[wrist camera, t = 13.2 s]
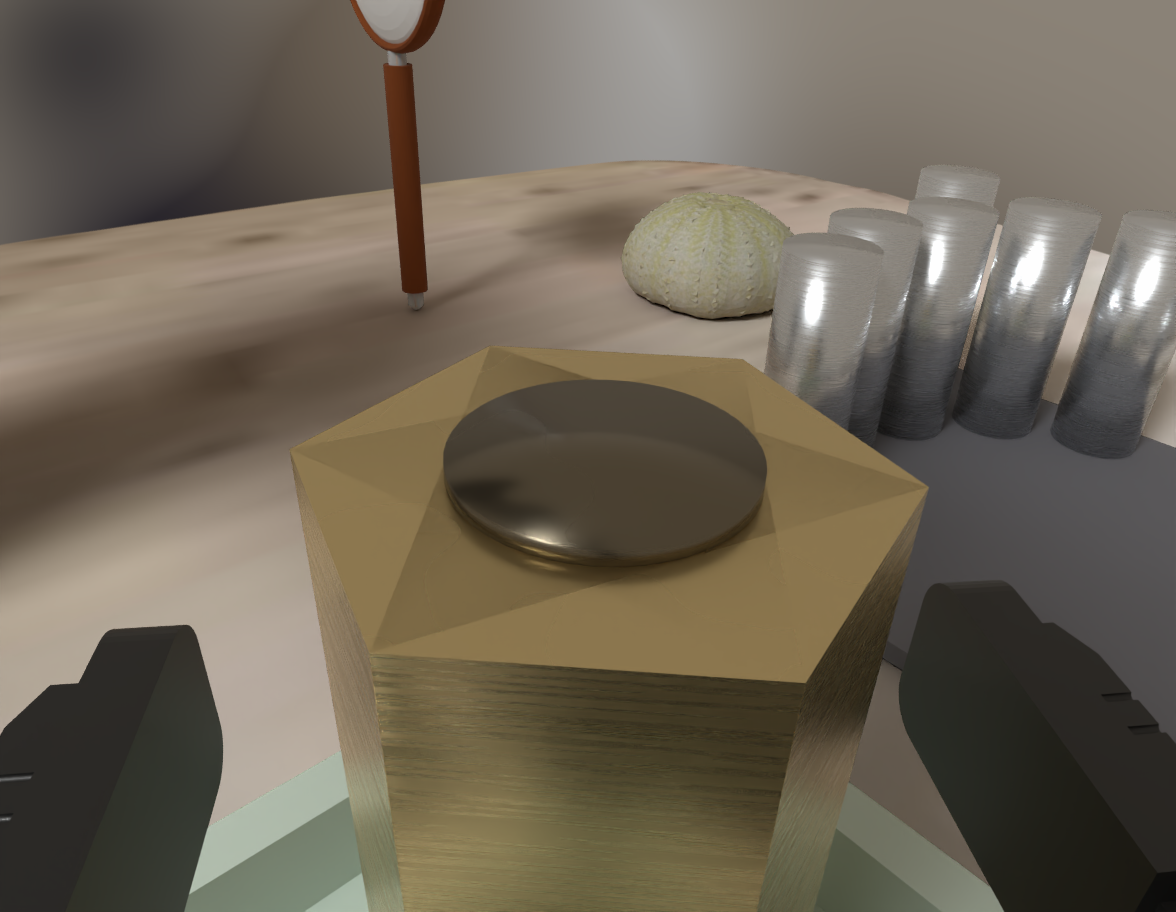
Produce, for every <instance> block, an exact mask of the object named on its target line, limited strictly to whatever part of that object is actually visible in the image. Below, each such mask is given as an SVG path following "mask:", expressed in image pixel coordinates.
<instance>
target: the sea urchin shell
mask: <svg viewBox="0 0 1176 912" xmlns="http://www.w3.org/2000/svg"><path fill="white" fill-rule="evenodd" d="M793 235H794V234H793V233H792V232H791V231H790V227H786V226H785V224H783V223H782V222H781V221H780V220H778V219H777V218H776V216H774V215H772V214H771V213H770V212H769V210H766V209H763V208H761V206H760V205H757V204H756V203H754V202H753V201H749V200H746V199H744V197H736V196H731V195H728V194H726V195H719V194H717V193H702V192H698V193H691V194H688V195H682V196H681V197H680V198H673V200H671V201H669V202H664V204H662V205H661V206H659V207H658V208H656V209H655V210H653V211H650V213H649V214H648V215H647V216H646V217H645V218H642V219H641V221H640V223H638V224H636V225H635V229H634V230H633V231H632V232H631V233H630V236H629V238H628V239H627V242H626V243H625V244H624V249H623V255H622V257H621V260H622V269H623V273H624V276H625V279H626V280H627V282H628V283H629V285H630V287H631V288H632V289H633V290H634V291H635V292H636V293H638V294H639V295H641V296H643V297H645V298H647V300H650V301H651V302H652V303H658V304H662V305H665V306H667V307H669V308H670V309H671V310H674V311H678V312H681V313H682V312H684V313H687V314H690V315H692V316H695V317H697V318H699V317H701V318H707V319H716V318H722V317H733V316H739V317H740V316H742V315H745V314H753V313H755V314H756V313H761V314H762V313H763V312H764V311H767V312H768V311H769V310H771V309H773V308H774V301H775V294H776V287H777V280H778V273H779V266H780V260H781V253H782V246H783V241H784V240H785V239H786V238H788V237H790V236H793Z"/></svg>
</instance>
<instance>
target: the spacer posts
mask: <svg viewBox="0 0 1176 912" xmlns="http://www.w3.org/2000/svg"><path fill="white" fill-rule="evenodd" d="M999 182H1000V177H999V176H998V175H997V174H995V173H992V172H989V171H986V170H982V169H977V168H972V167H966V166H956V165H933V166H926V167H924V168H922V169H921V174H920V178H919V182H918V187H917V191H916V196H915V199H913V200H911V201H910V202H909V206H908V211H907V215H906V214H902V213H898V212H894V211H889V210H882V209H873V208H849V209H842V210H838V211H835V212H833V213H832V214H831V215H830V220H829V226H828V232H827V233H803V234H797V235H793V236H790V237H788V238H786V239H785V240H784V241H783V246H782V253H781V260H780V266H779V273H778V280H777V287H776V294H775V301H774V308H773V315H772V321H771V328H770V335H769V342H768V349H767V356H766V363H765V370H764V374H765V375H766V376H768V377H769V378H771V379H772V380H773V381H775V382H776V383H778V384H779V385H781V386H782V387H784V388H785V389H787V390H788V391H789V392H791V393H792V394H794V395H795V396H797V397H798V398H800V399H801V400H803V401H804V402H806V403H807V404H808V405H810V406H811V407H813V408H814V409H816V410H817V411H819V412H820V413H822V414H823V415H825V416H826V417H827V418H829V419H830V420H832V421H833V422H835V423H836V424H838V425H839V426H841V427H842V428H843V429H845V430H846V431H848V432H849V433H851V434H852V435H854V436H855V437H857V438H858V439H860V440H861V441H862V442H864V443H865V444H867V445H868V446H870V447H871V448H873V446H874V442H875V437H876V433H877V432H879V433H881V434H883V435H885V436H888V437H892V438H895V439H900V440H908V441H923V440H928V439H932V438H934V437H936V436H937V435H939V433H940V432H941V429H942V425H943V421H944V418H945V414H946V410H947V406H948V403H949V399H950V395H951V392H952V388H953V384H954V381H955V377H956V373H957V370H958V366H959V362H960V358H961V355H962V351H963V347H964V344H965V340H966V336H967V333H968V329H969V325H970V321H971V318H972V314H973V310H974V307H975V303H976V299H977V296H978V292H979V288H980V284H981V281H982V277H983V273H984V270H985V266H986V262H987V259H988V255H989V251H990V247H991V244H992V240H993V236H994V233H995V229H996V225H997V222H998V218H999V211H998V210H996V209H995V208H993V205H994V201H995V197H996V194H997V190H998V186H999ZM1101 217H1102V214H1101V213H1100V212H1099V211H1098V210H1096V209H1094V208H1092V207H1089V206H1086V205H1083V204H1079V203H1075V202H1070V201H1066V200H1059V199H1052V198H1039V197H1027V198H1019V199H1014V200H1012V201H1010V203H1009V207H1008V210H1007V214H1006V217H1005V221H1004V225H1003V228H1002V232H1001V236H1000V239H999V243H998V247H997V250H996V254H995V257H994V261H993V265H992V268H991V272H990V276H989V279H988V283H987V287H986V290H985V294H984V298H983V301H982V305H981V308H980V312H979V316H978V319H977V323H976V327H975V330H974V334H973V338H972V341H971V345H970V349H969V352H968V356H967V359H966V363H965V367H964V370H963V374H962V378H961V381H960V385H959V389H958V392H957V396H956V400H955V403H954V407H953V410H952V417H953V419H954V421H955V422H956V423H957V424H959V425H960V426H961V427H963V428H964V429H966V430H968V431H970V432H973V433H975V434H978V435H981V436H985V437H989V438H995V439H1005V440H1010V439H1019V438H1023V437H1025V436H1027V435H1028V434H1029V433H1030V431H1031V428H1032V425H1033V422H1034V419H1035V416H1036V413H1037V410H1038V407H1039V404H1040V401H1041V398H1042V395H1043V392H1044V389H1045V386H1046V383H1047V380H1048V377H1049V374H1050V371H1051V368H1052V365H1053V362H1054V359H1055V356H1056V353H1057V350H1058V347H1059V344H1060V341H1061V338H1062V335H1063V332H1064V329H1065V326H1066V323H1067V320H1068V317H1069V314H1070V311H1071V308H1072V305H1073V302H1074V299H1075V296H1076V293H1077V289H1078V286H1079V283H1080V280H1081V277H1082V274H1083V271H1084V268H1085V265H1086V262H1087V259H1088V256H1089V253H1090V250H1091V247H1092V244H1093V241H1094V238H1095V235H1096V232H1097V229H1098V226H1099V223H1100V220H1101ZM1175 350H1176V213H1175V212H1168V211H1158V210H1135V211H1130V212H1127V213H1125V214H1124V216H1123V219H1122V222H1121V225H1120V228H1119V231H1118V234H1117V237H1116V240H1115V243H1114V246H1113V248H1112V251H1111V254H1110V257H1109V260H1108V263H1107V266H1106V269H1105V272H1104V275H1103V277H1102V280H1101V283H1100V286H1099V289H1098V292H1097V295H1096V298H1095V301H1094V304H1093V307H1092V309H1091V312H1090V315H1089V318H1088V321H1087V324H1086V327H1085V330H1084V333H1083V336H1082V339H1081V341H1080V344H1079V347H1078V350H1077V353H1076V356H1075V359H1074V362H1073V365H1072V368H1071V371H1070V373H1069V376H1068V379H1067V382H1066V385H1065V388H1064V391H1063V394H1062V397H1061V400H1060V403H1059V405H1058V408H1057V411H1056V414H1055V417H1054V420H1053V423H1052V426H1051V429H1050V433H1051V435H1052V437H1053V438H1054V439H1055V440H1056V441H1057V442H1059V443H1060V444H1061V445H1063V446H1065V447H1066V448H1068V449H1070V450H1073V451H1075V452H1078V453H1081V454H1084V455H1087V456H1091V457H1096V458H1102V459H1122V458H1126V457H1129V456H1131V455H1132V454H1133V453H1134V451H1135V449H1136V446H1137V444H1138V441H1139V439H1140V436H1141V434H1142V431H1143V429H1144V426H1145V424H1146V422H1147V419H1148V417H1149V414H1150V412H1151V409H1152V407H1153V404H1154V402H1155V399H1156V397H1157V395H1158V392H1159V390H1160V387H1161V385H1162V382H1163V380H1164V377H1165V375H1166V372H1167V370H1168V367H1169V365H1170V363H1171V360H1172V358H1173V355H1174V353H1175Z"/></svg>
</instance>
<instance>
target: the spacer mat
mask: <svg viewBox="0 0 1176 912" xmlns="http://www.w3.org/2000/svg"><path fill="white" fill-rule="evenodd" d="M962 374H963V370H962V369H959V368H958V370H957V373H956V377H955V381H954V384H953V388H952V392H951V395H950V399H949V403H948V406H947V410H946V414H945V418H944V421H943V425H942V429H941V432H940V433H939V435H937V436H936V437H934V438H932V439H928V440H923V441H908V440H900V439H895V438H892V437H888V436H885V435H883V434H881V433H879V432H877V433H876V437H875V442H874V446H873V449H874V450H876V451H877V452H879V453H880V454H881V455H883V456H884V457H886V458H887V459H889V460H890V461H892V462H893V463H895V464H896V465H897V466H899V467H900V468H902V469H903V470H905V471H906V472H908V473H909V474H911V475H912V476H914V477H915V478H916V479H918V480H919V481H921V482H922V483H924V484H925V485H927V486H928V487H929V489H928V493H927V496H926V500H925V504H924V507H923V511H922V515H921V518H920V522H919V526H918V529H917V533H916V537H915V540H914V544H913V548H912V551H911V555H910V559H909V562H908V566H907V570H906V573H905V577H904V581H903V584H902V588H901V592H900V595H899V599H898V603H897V606H896V610H895V614H894V617H893V621H892V625H891V628H890V632H889V636H888V639H887V643H886V647H885V650H884V654H883V659H885V660H887V661H888V662H890V663H891V664H893V665H895V666H896V667H898V668H899V669H901V670H903V668H904V664H905V661H906V657H907V654H908V650H909V647H910V644H911V640H912V637H913V633H914V630H915V626H916V623H917V619H918V616H919V613H920V609H921V606H922V602H923V599H924V596H925V594H926V592H927V590H928V589H929V588H930V587H931V586H932V585H934V584H936V583H949V582H966V581H983V580H1002V581H1005V582H1007V583H1008V584H1009V585H1011V586H1012V587H1013V588H1014V589H1015V590H1016V592H1017V593H1018V594H1019V595H1020V596H1021V598H1022V599H1023V600H1024V601H1025V603H1026V604H1027V605H1028V606H1029V607H1030V609H1031V610H1032V611H1033V612H1034V613H1035V615H1036V616H1037V617H1038V618H1039V620H1040V621H1041V622H1042V623H1051V622H1054V623H1055V624H1056V625H1058V626H1059V627H1061V628H1062V629H1064V630H1065V631H1067V632H1068V633H1069V634H1071V635H1072V636H1074V637H1075V638H1077V639H1078V640H1079V641H1081V642H1082V643H1084V644H1085V645H1087V646H1088V647H1090V648H1091V649H1092V650H1094V651H1095V652H1097V653H1098V654H1099V655H1100V656H1101V657H1102V658H1103V659H1104V661H1105V662H1106V663H1107V664H1108V665H1109V666H1110V668H1111V669H1112V670H1113V671H1114V672H1115V673H1116V675H1117V676H1118V677H1119V678H1120V679H1121V680H1122V681H1123V683H1124V684H1125V685H1126V686H1127V687H1128V688H1129V690H1130V691H1131V696H1132V699H1133V700H1139V701H1140V702H1141V704H1142V705H1143V706H1144V707H1145V708H1146V709H1147V710H1148V712H1149V713H1150V714H1151V715H1152V716H1153V717H1154V719H1155V720H1156V721H1157V722H1158V723H1159V730H1160V731H1161V733H1163V732H1166V733H1167V734H1168V735H1169V736H1170V737H1171V738H1172V739H1173V741H1174V742H1175V743H1176V448H1174V447H1172V446H1169V445H1166V444H1164V443H1161V442H1158V441H1155V440H1153V439H1150V438H1147V437H1144V436H1142V435H1141V436H1140V439H1139V441H1138V444H1137V446H1136V449H1135V451H1134V453H1133V454H1132V455H1131V456H1129V457H1126V458H1122V459H1102V458H1096V457H1091V456H1087V455H1084V454H1081V453H1078V452H1075V451H1073V450H1070V449H1068V448H1066V447H1065V446H1063V445H1061V444H1060V443H1059V442H1057V441H1056V440H1055V439H1054V438H1053V437H1052V435H1051V433H1050V429H1051V426H1052V423H1053V420H1054V417H1055V414H1056V411H1057V408H1058V405H1057V404H1054V403H1052V402H1049V401H1046V400H1043V399H1041V401H1040V404H1039V407H1038V410H1037V413H1036V416H1035V419H1034V422H1033V425H1032V428H1031V431H1030V433H1029V434H1028V435H1027V436H1025V437H1023V438H1019V439H1010V440H1005V439H995V438H989V437H985V436H981V435H978V434H975V433H973V432H970V431H968V430H966V429H964V428H963V427H961V426H960V425H959V424H957V423H956V422H955V421H954V419H953V417H952V410H953V407H954V403H955V400H956V396H957V392H958V389H959V385H960V381H961V378H962Z"/></svg>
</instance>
